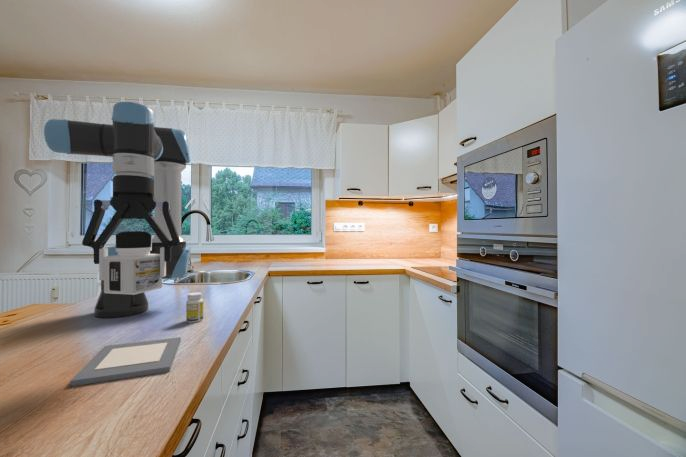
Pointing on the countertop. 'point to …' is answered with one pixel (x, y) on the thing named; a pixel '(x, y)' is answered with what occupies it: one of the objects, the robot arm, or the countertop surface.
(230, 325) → the countertop surface
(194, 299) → the supplement bottle
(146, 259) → the container
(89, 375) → the board
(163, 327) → the countertop surface
